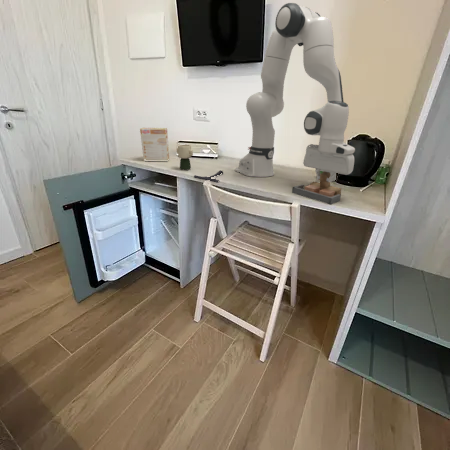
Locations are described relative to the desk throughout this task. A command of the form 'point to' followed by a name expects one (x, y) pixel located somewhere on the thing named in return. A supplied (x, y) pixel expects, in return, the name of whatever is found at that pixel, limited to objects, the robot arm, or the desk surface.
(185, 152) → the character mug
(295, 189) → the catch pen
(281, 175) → the desk surface
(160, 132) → the coffeecake box
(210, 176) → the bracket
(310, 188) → the tile left
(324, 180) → the wooden toy blocks
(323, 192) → the tile right
